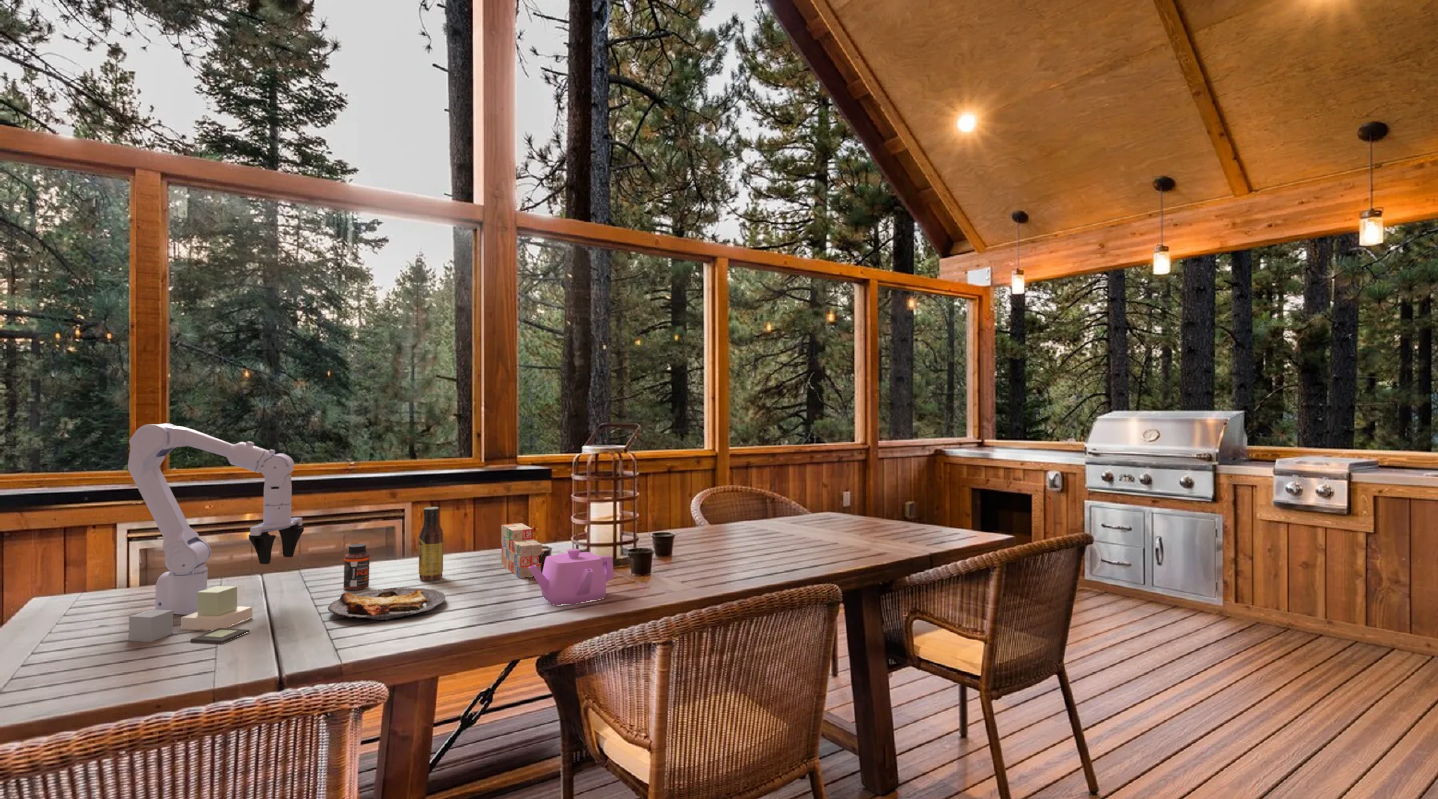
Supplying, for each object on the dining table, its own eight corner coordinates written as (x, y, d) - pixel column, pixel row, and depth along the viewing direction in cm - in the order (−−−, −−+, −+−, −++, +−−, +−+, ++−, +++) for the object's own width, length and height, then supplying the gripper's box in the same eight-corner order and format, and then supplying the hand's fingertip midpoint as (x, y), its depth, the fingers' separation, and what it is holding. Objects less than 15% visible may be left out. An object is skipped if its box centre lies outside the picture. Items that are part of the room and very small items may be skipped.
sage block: (197, 615, 151) (197, 592, 151) (217, 608, 156) (217, 586, 156) (218, 615, 151) (217, 592, 151) (237, 608, 155) (237, 586, 155)
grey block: (128, 641, 142) (129, 616, 142) (151, 633, 147) (151, 609, 147) (151, 642, 142) (151, 617, 142) (172, 634, 146) (173, 610, 147)
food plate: (322, 628, 150) (323, 612, 150) (332, 601, 171) (333, 587, 171) (447, 618, 160) (448, 603, 160) (442, 594, 182) (442, 581, 182)
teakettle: (616, 592, 183) (617, 544, 183) (590, 610, 167) (591, 558, 167) (556, 587, 187) (557, 541, 187) (525, 605, 170) (526, 554, 170)
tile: (190, 641, 142) (190, 637, 142) (219, 630, 148) (219, 627, 148) (222, 643, 141) (222, 639, 141) (249, 632, 148) (249, 628, 148)
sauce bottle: (423, 576, 197) (424, 505, 197) (445, 576, 198) (446, 505, 198) (414, 582, 191) (415, 509, 191) (438, 581, 191) (439, 509, 191)
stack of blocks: (541, 576, 199) (542, 533, 199) (519, 579, 195) (520, 535, 196) (521, 562, 217) (521, 522, 217) (500, 564, 214) (501, 523, 214)
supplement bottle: (358, 591, 180) (359, 547, 181) (338, 590, 182) (338, 546, 182) (374, 586, 186) (374, 543, 186) (354, 584, 188) (355, 542, 188)
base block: (181, 631, 150) (181, 617, 150) (216, 618, 159) (216, 605, 159) (218, 633, 149) (219, 619, 149) (252, 620, 157) (252, 607, 157)
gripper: (270, 508, 162) (269, 567, 162) (313, 500, 176) (312, 554, 176) (242, 508, 163) (241, 566, 162) (287, 499, 177) (287, 553, 177)
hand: (276, 560), depth 169 cm, fingers open, 7 cm apart
